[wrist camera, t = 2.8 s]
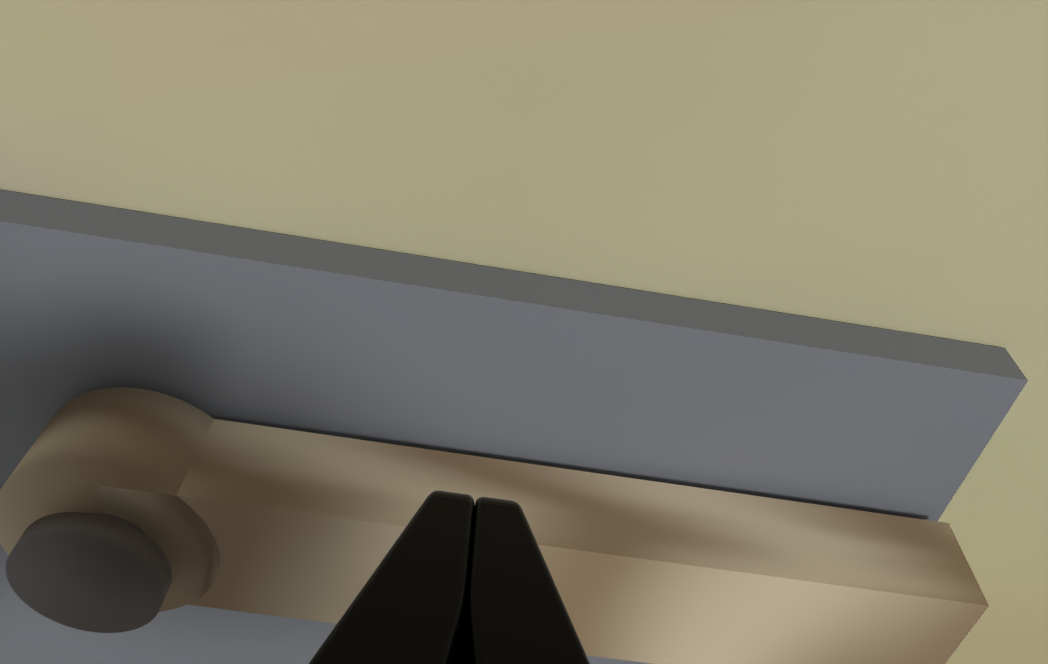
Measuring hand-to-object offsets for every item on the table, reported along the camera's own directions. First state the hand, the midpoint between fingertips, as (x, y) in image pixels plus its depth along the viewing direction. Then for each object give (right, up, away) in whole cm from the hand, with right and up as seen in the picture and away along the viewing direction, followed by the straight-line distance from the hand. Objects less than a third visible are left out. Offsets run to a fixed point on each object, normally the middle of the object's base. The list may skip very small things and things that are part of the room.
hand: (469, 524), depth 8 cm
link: (0, -2, +9) cm, 10 cm away
